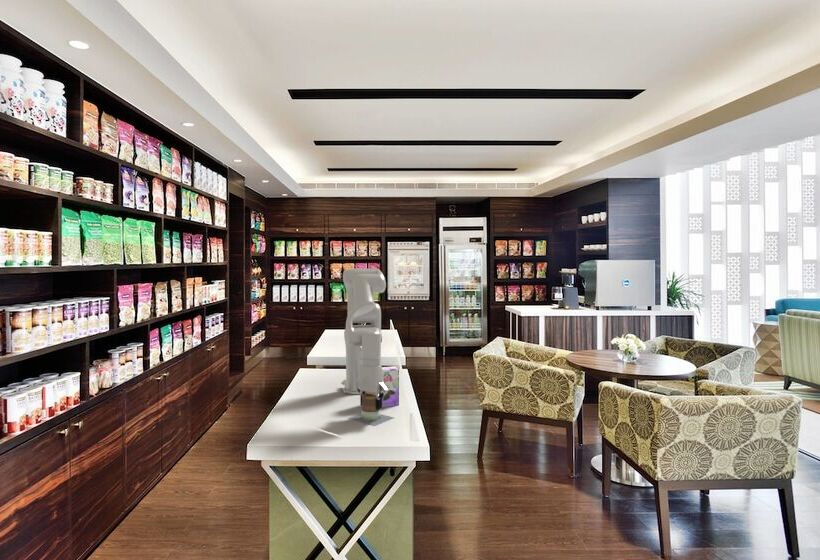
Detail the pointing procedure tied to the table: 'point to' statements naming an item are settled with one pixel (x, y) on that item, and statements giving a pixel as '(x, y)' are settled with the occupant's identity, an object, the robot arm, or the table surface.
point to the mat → (373, 423)
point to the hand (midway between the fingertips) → (371, 406)
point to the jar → (370, 415)
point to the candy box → (391, 386)
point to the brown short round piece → (369, 402)
